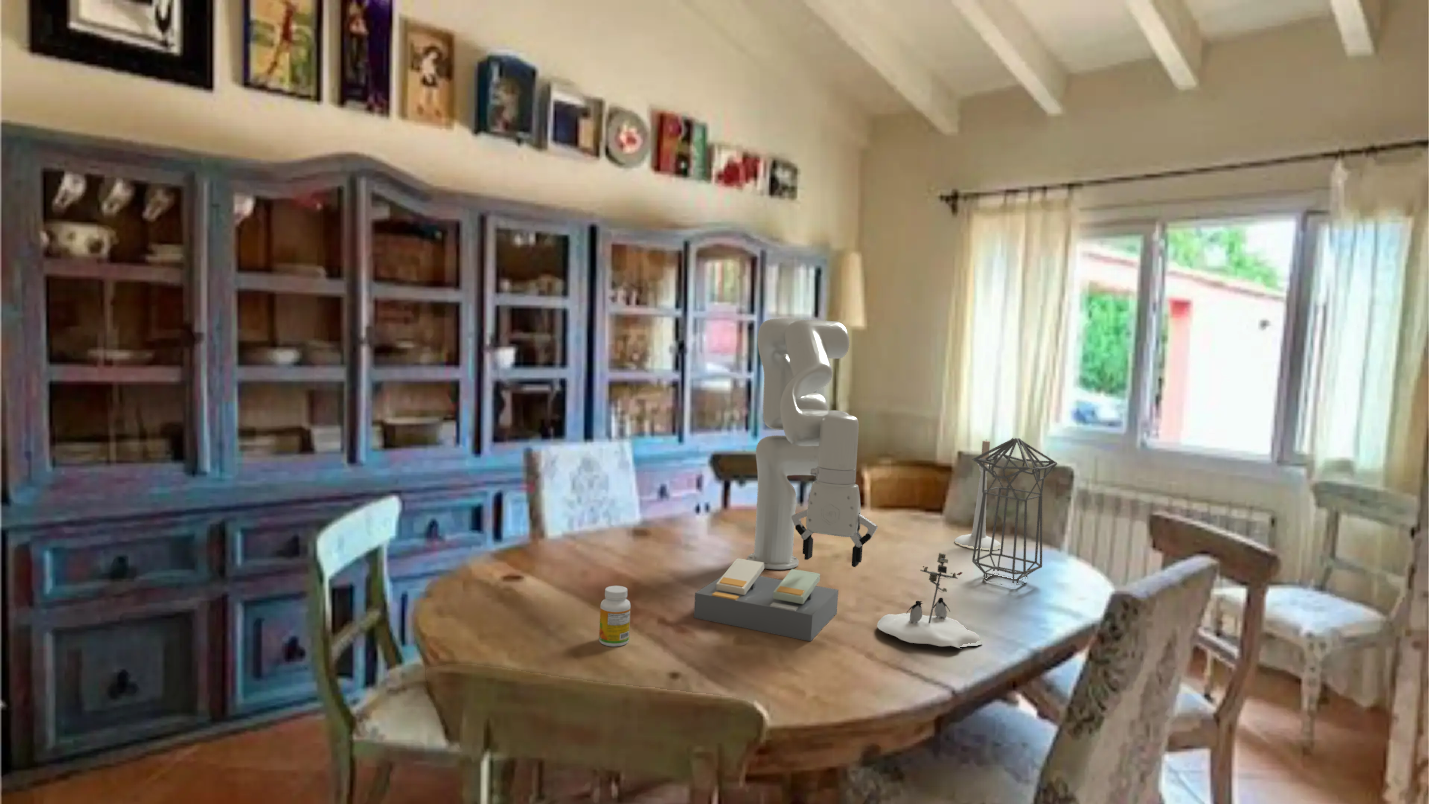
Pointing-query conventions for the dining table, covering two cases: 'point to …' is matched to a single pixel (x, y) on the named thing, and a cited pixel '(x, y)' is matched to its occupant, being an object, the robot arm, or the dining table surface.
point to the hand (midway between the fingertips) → (831, 561)
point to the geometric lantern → (1007, 447)
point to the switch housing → (767, 609)
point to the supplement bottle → (615, 617)
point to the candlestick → (971, 538)
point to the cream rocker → (740, 576)
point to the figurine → (929, 620)
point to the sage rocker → (796, 586)
